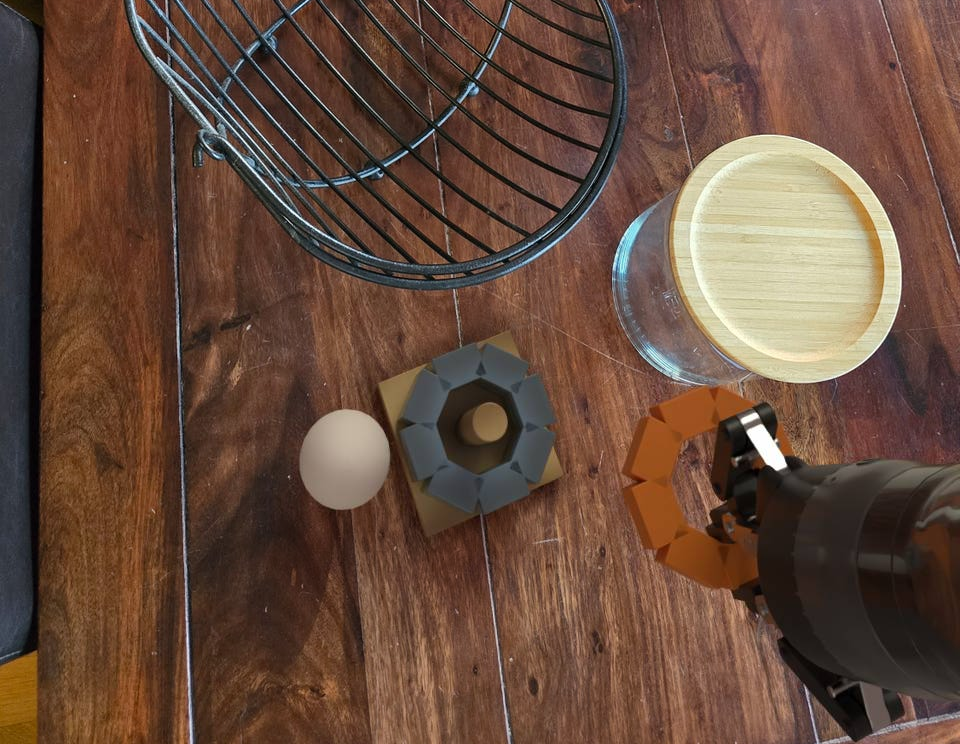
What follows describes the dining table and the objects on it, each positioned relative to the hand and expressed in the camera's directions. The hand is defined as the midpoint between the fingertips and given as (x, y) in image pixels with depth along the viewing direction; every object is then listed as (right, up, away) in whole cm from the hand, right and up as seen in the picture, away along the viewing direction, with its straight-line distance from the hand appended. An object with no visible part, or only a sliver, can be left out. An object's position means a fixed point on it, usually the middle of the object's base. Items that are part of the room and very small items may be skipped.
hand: (736, 554), depth 58 cm
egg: (-21, -1, +12) cm, 25 cm away
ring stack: (-14, 0, +14) cm, 19 cm away
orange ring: (-1, +3, +1) cm, 3 cm away
